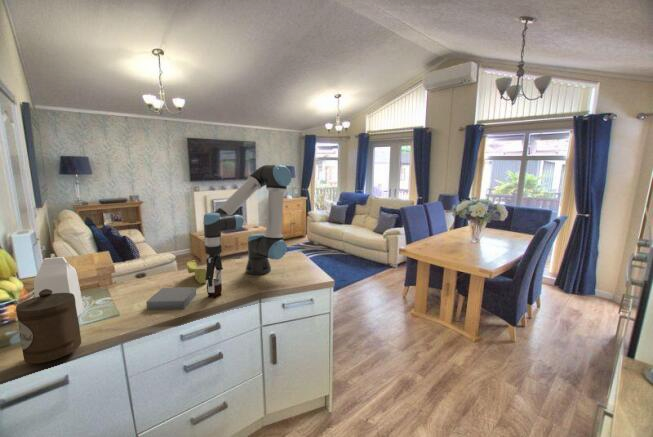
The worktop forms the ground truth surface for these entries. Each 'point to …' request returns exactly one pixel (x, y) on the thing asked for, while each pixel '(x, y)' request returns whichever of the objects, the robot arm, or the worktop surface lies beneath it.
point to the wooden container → (48, 326)
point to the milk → (58, 279)
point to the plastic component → (197, 271)
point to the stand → (171, 298)
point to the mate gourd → (216, 287)
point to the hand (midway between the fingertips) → (215, 287)
